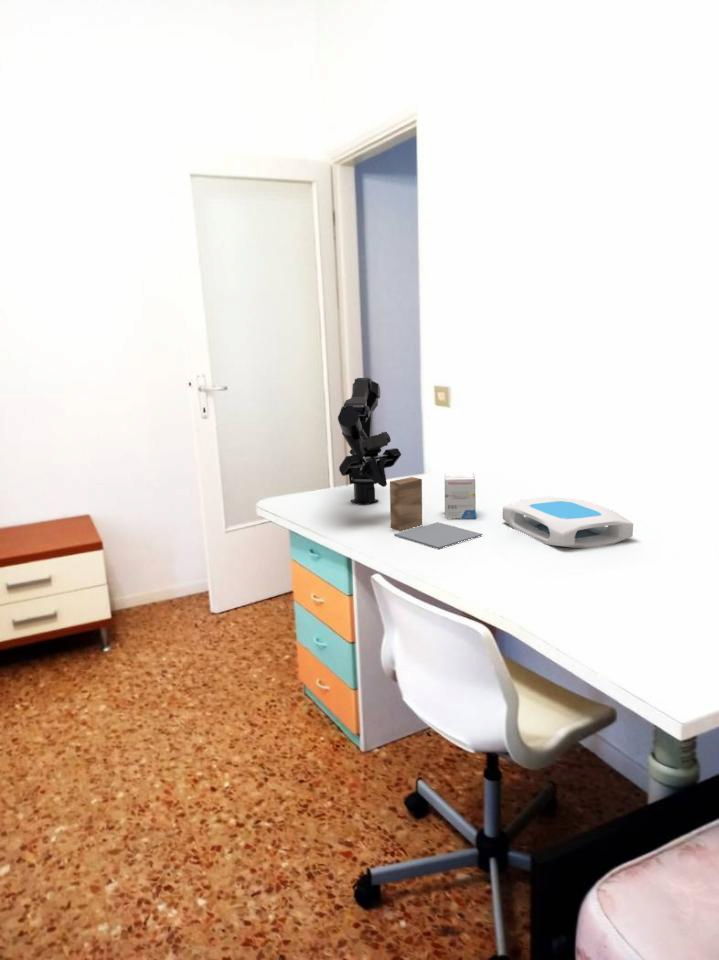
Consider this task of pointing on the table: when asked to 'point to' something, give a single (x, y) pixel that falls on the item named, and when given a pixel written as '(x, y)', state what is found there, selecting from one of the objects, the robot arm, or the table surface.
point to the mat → (437, 535)
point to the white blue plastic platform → (567, 521)
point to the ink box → (460, 495)
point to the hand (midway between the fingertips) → (385, 485)
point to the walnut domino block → (406, 503)
